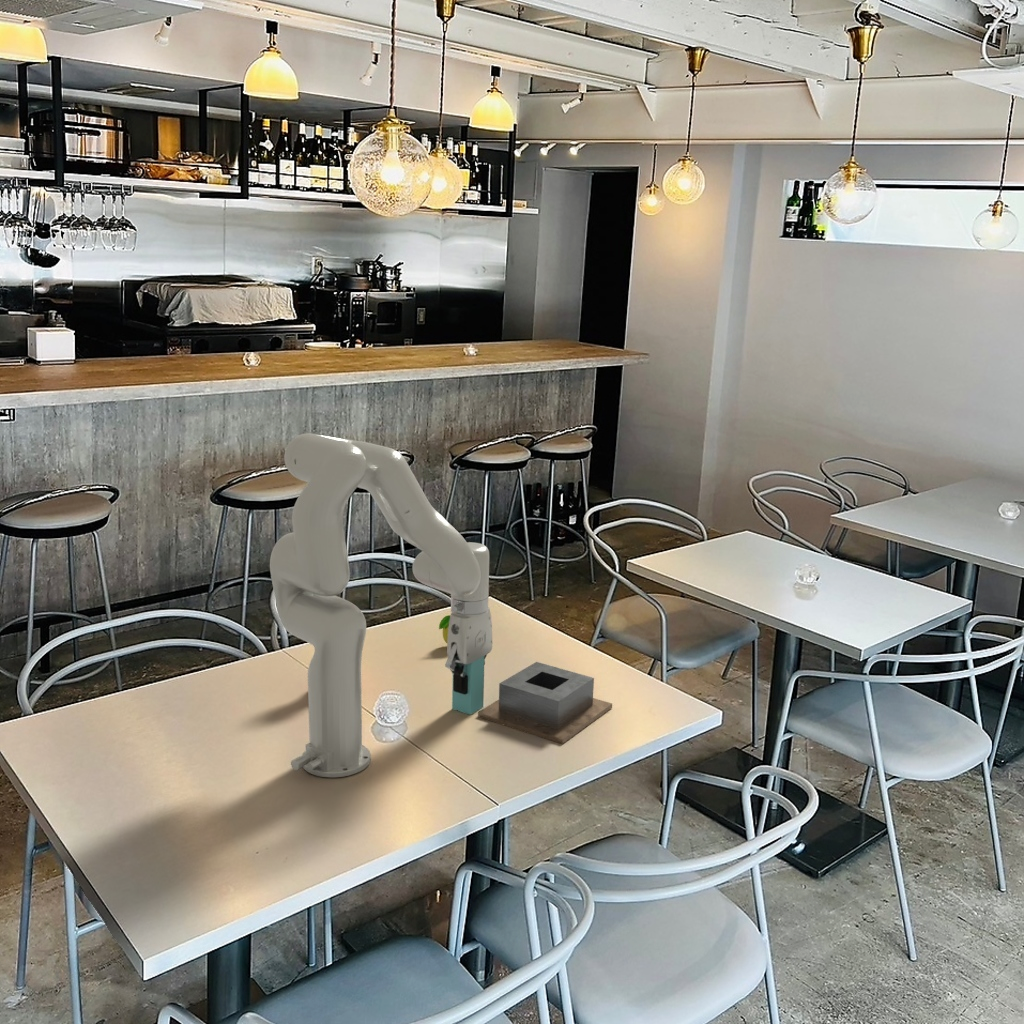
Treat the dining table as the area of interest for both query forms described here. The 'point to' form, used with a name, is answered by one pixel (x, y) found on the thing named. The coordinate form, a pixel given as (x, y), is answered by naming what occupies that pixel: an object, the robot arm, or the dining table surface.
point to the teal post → (471, 689)
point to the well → (546, 702)
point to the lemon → (445, 627)
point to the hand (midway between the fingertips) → (468, 687)
